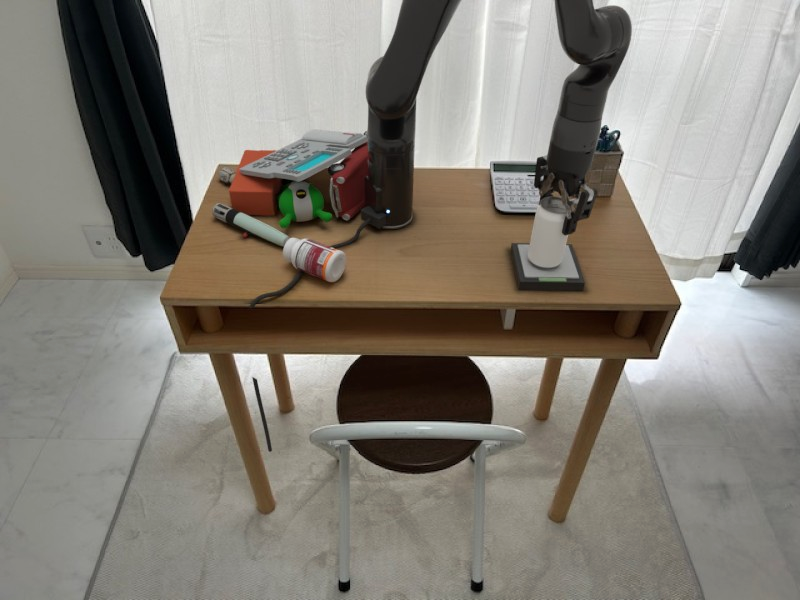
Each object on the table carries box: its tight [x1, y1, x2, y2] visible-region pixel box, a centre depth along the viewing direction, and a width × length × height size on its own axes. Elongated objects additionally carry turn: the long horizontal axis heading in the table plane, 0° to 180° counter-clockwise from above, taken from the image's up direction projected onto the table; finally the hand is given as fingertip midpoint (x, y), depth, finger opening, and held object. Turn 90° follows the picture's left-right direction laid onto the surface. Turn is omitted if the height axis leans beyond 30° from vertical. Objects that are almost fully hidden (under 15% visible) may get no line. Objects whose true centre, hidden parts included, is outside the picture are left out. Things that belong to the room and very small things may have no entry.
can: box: [528, 195, 569, 268], centre depth 113 cm, size 6×6×12 cm
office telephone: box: [240, 129, 367, 182], centre depth 132 cm, size 23×3×20 cm
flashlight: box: [211, 202, 291, 248], centre depth 126 cm, size 3×4×20 cm
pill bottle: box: [282, 237, 347, 283], centre depth 116 cm, size 6×6×11 cm
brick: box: [228, 149, 283, 217], centre depth 136 cm, size 18×9×6 cm, turn 0°
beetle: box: [218, 167, 237, 187], centre depth 140 cm, size 4×7×3 cm, turn 70°
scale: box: [509, 242, 586, 292], centre depth 118 cm, size 12×12×2 cm
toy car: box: [327, 130, 368, 221], centre depth 135 cm, size 11×25×10 cm
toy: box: [277, 180, 333, 229], centre depth 130 cm, size 11×8×15 cm
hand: (555, 223), depth 112 cm, fingers closed on can, 6 cm apart
